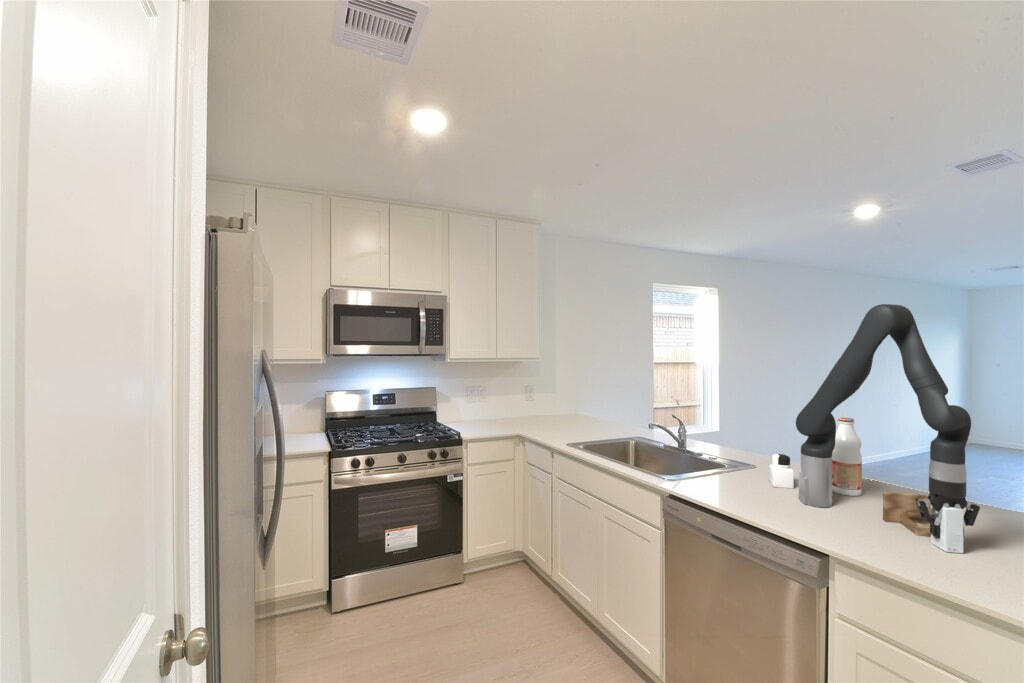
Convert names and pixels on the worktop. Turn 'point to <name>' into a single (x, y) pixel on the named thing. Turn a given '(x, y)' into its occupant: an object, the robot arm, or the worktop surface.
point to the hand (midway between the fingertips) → (946, 537)
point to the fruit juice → (847, 460)
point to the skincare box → (950, 530)
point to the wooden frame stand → (905, 512)
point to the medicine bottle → (781, 472)
